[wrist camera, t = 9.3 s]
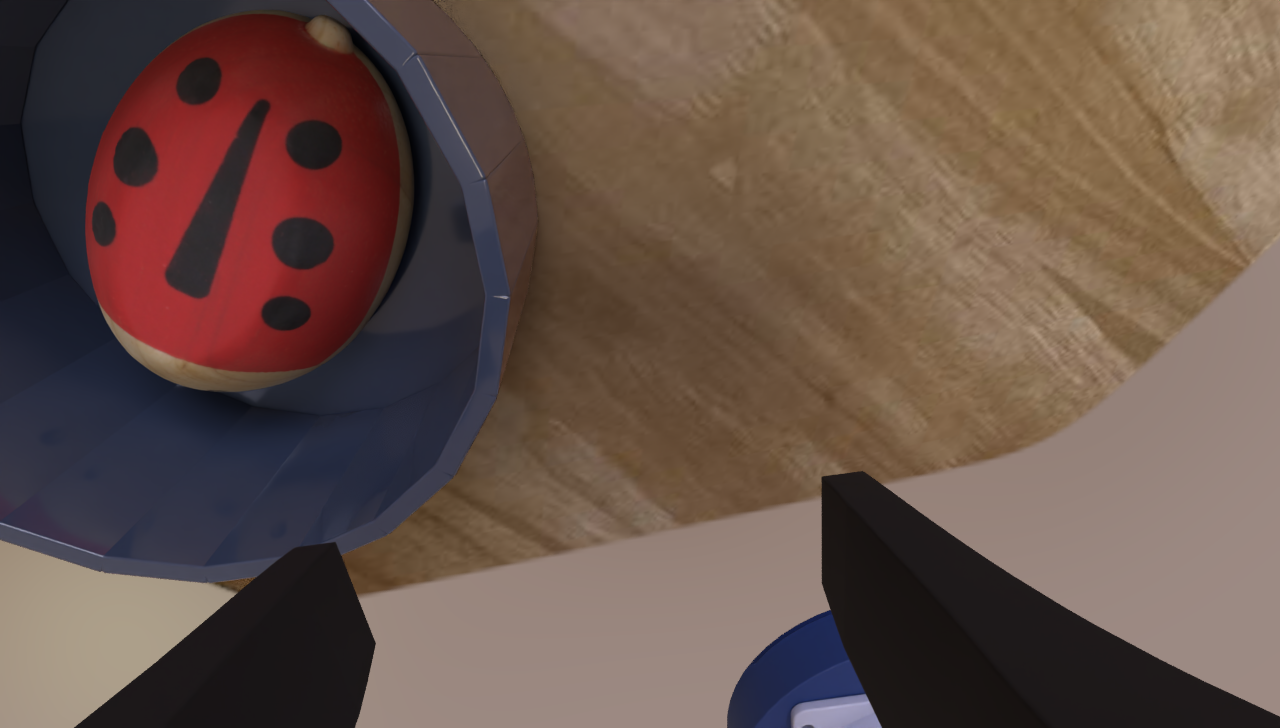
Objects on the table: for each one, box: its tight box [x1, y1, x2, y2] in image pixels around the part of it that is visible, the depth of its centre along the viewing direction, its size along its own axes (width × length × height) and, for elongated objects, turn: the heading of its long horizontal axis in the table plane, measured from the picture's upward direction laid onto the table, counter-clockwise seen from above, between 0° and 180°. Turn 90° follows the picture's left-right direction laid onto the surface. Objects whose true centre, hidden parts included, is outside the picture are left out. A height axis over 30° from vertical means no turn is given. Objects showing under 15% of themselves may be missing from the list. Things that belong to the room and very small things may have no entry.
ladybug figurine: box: [85, 10, 414, 392], centre depth 15 cm, size 7×10×4 cm
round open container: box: [0, 0, 538, 583], centre depth 14 cm, size 13×13×7 cm
